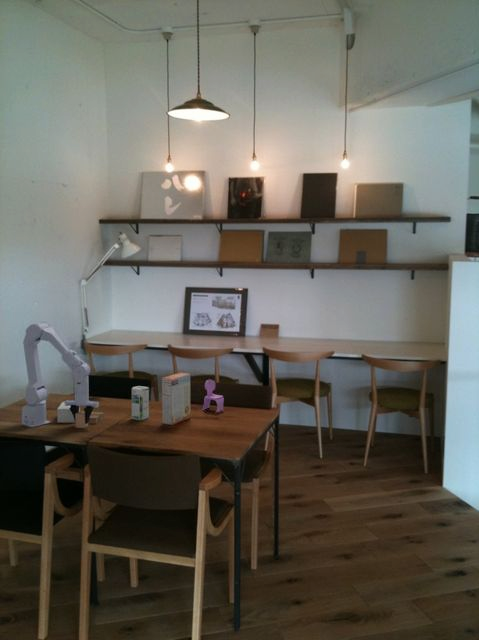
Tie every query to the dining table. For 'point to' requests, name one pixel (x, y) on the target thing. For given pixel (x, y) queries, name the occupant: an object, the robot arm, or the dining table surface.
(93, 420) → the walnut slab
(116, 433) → the dining table surface
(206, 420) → the dining table surface
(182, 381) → the cracker box
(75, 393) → the robot arm
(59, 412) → the small box
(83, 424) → the terracotta block
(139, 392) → the syrup box
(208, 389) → the toy chair
